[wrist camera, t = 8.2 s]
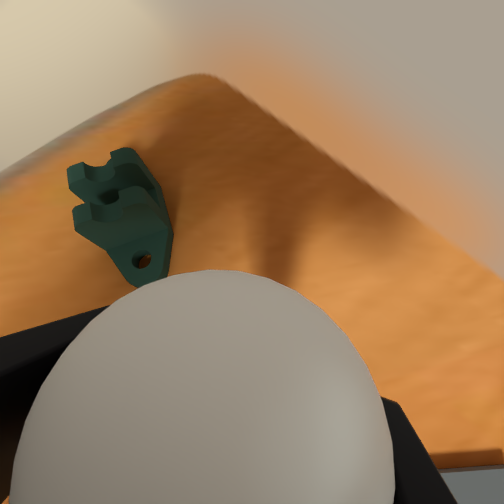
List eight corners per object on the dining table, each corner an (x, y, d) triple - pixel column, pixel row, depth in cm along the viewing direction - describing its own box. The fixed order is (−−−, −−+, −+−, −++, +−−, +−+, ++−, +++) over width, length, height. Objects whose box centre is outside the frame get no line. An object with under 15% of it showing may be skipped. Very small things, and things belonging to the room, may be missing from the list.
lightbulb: (270, 297, 15) (234, 131, 4) (359, 419, 13) (684, 635, 2) (157, 378, 14) (-198, 403, 4) (234, 522, 12) (-90, 1500, 2)
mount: (186, 278, 21) (157, 252, 17) (123, 301, 21) (76, 281, 17) (152, 154, 25) (121, 105, 21) (99, 173, 25) (56, 128, 20)
